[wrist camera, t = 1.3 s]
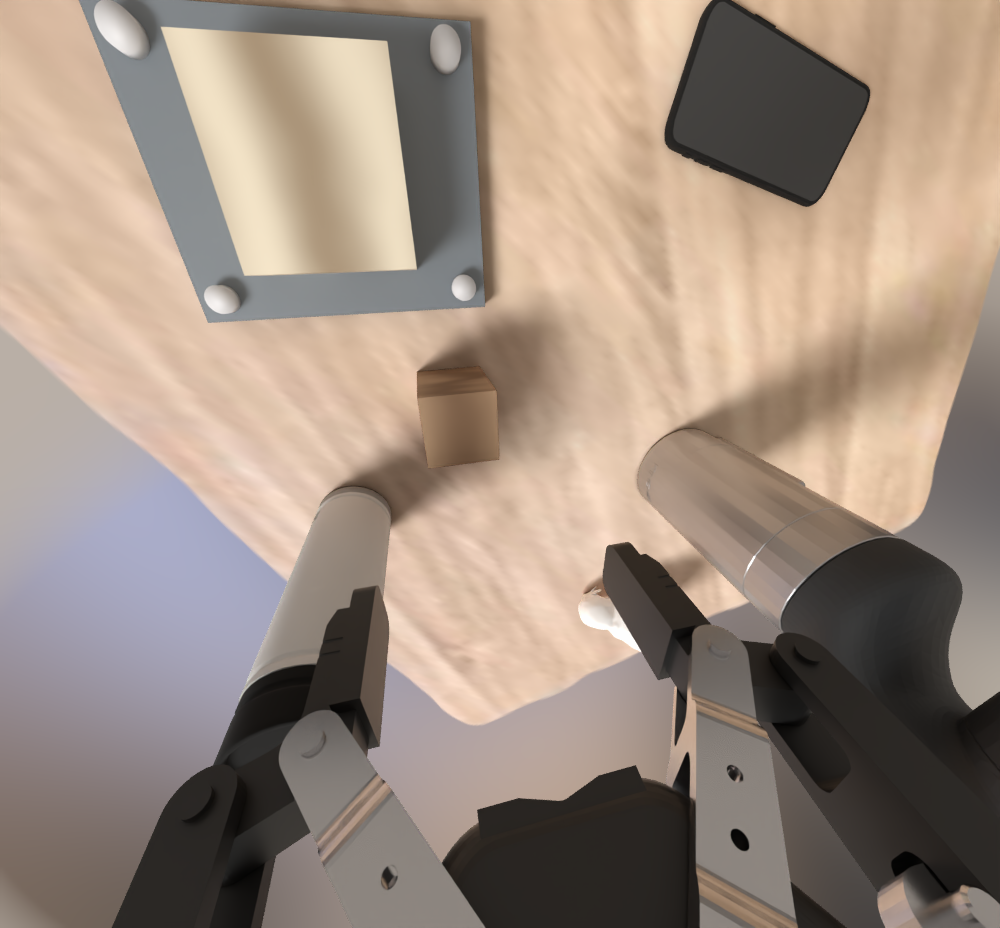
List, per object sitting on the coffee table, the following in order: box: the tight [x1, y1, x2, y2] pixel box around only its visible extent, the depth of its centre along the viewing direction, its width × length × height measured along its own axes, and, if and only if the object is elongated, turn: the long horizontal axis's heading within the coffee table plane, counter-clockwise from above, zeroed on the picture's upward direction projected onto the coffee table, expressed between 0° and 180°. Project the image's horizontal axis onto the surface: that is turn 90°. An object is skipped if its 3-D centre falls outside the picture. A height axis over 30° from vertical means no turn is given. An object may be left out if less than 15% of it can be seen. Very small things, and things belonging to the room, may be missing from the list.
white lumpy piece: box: [578, 586, 641, 652], centre depth 42 cm, size 6×8×12 cm
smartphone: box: [665, 0, 870, 207], centre depth 25 cm, size 7×1×15 cm
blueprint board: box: [79, 0, 485, 323], centre depth 21 cm, size 18×14×2 cm
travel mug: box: [213, 486, 391, 770], centre depth 24 cm, size 6×7×20 cm
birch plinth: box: [161, 27, 417, 276], centre depth 19 cm, size 9×9×4 cm
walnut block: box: [417, 366, 499, 469], centre depth 27 cm, size 5×5×7 cm
